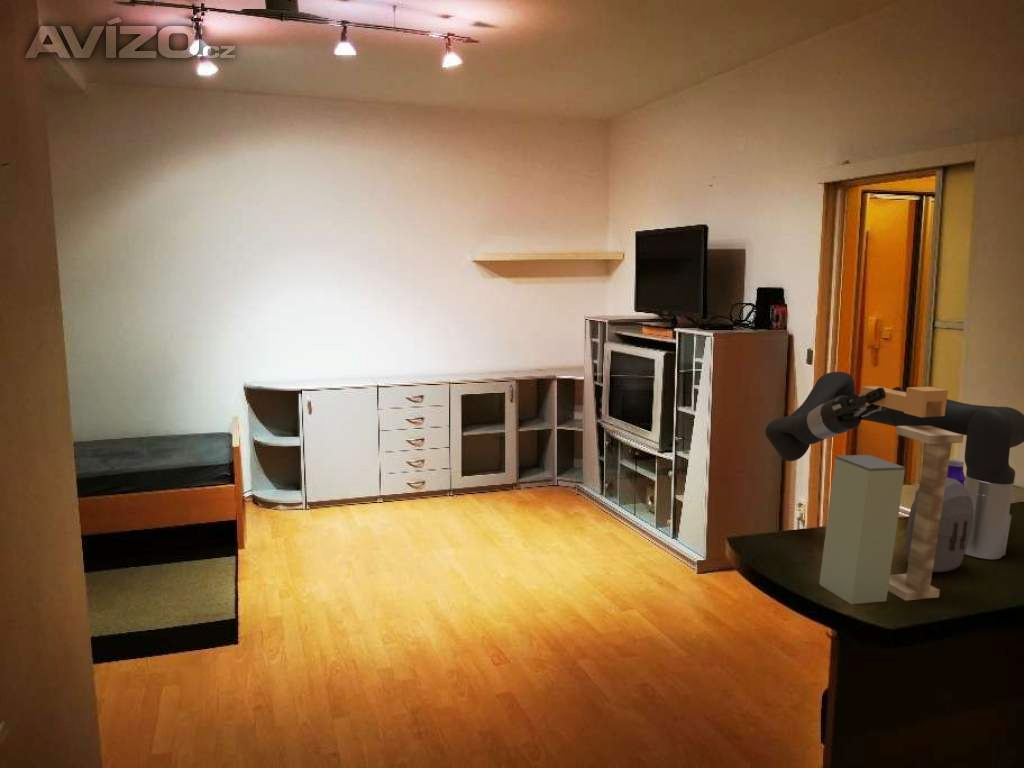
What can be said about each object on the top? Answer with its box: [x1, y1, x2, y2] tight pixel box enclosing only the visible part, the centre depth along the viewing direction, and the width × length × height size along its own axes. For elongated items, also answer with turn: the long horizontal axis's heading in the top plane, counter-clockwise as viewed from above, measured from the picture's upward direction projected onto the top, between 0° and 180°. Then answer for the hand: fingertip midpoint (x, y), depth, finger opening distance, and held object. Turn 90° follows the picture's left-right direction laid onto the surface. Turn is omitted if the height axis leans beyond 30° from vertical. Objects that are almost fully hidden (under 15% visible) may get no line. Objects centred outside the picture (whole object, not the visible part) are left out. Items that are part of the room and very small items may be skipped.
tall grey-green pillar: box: [818, 454, 906, 605], centre depth 150 cm, size 8×9×26 cm
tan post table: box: [888, 426, 965, 602], centre depth 152 cm, size 8×8×32 cm
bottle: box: [947, 457, 966, 485], centre depth 193 cm, size 7×6×17 cm
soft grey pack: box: [905, 477, 973, 573], centre depth 164 cm, size 15×8×20 cm, turn 117°
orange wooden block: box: [860, 385, 949, 417], centre depth 157 cm, size 6×16×5 cm, turn 21°
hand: (891, 391), depth 159 cm, fingers closed on orange wooden block, 4 cm apart
